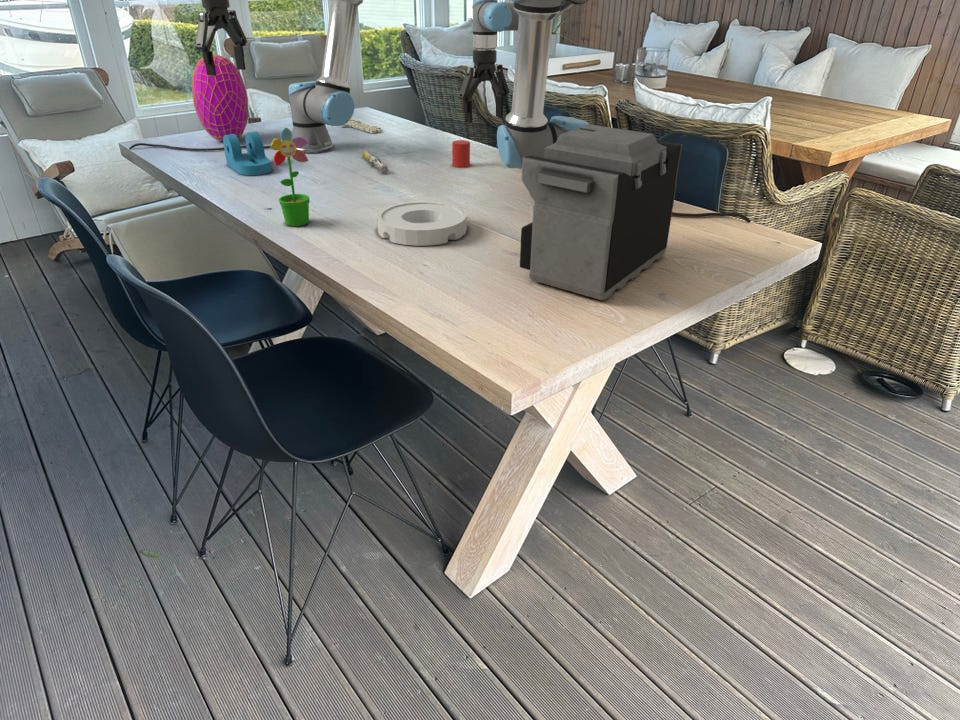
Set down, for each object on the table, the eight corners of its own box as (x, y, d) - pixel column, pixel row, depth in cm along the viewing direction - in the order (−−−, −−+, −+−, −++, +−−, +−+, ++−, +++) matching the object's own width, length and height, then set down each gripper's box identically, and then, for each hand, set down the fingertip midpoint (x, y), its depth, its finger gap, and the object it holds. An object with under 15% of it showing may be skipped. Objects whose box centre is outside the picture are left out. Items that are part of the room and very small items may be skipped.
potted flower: (284, 229, 179) (270, 130, 166) (277, 220, 185) (263, 124, 172) (319, 224, 183) (308, 127, 170) (311, 215, 188) (300, 121, 176)
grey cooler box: (589, 234, 178) (601, 114, 162) (670, 254, 167) (691, 126, 151) (511, 281, 152) (516, 142, 137) (601, 307, 141) (617, 160, 126)
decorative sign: (331, 121, 290) (351, 118, 296) (331, 123, 291) (352, 120, 296) (366, 132, 273) (387, 128, 279) (366, 134, 274) (387, 131, 280)
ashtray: (385, 214, 190) (384, 200, 188) (468, 216, 189) (468, 202, 187) (371, 244, 170) (369, 229, 168) (464, 246, 170) (464, 231, 167)
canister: (473, 165, 236) (473, 142, 232) (462, 168, 232) (461, 145, 228) (460, 162, 239) (460, 139, 236) (448, 165, 236) (448, 142, 232)
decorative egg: (239, 132, 274) (226, 50, 259) (262, 141, 262) (250, 56, 247) (192, 139, 263) (176, 54, 248) (214, 149, 251) (198, 60, 236)
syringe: (360, 156, 244) (360, 148, 243) (371, 155, 246) (370, 147, 244) (377, 174, 224) (377, 166, 223) (389, 173, 226) (388, 165, 224)
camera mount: (227, 164, 233) (221, 132, 227) (257, 160, 238) (252, 129, 233) (244, 176, 220) (239, 143, 215) (276, 172, 225) (271, 139, 220)
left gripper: (194, -6, 185) (209, 78, 196) (252, -9, 205) (262, 67, 216) (172, -6, 188) (188, 77, 198) (231, -10, 208) (242, 66, 218)
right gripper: (505, 45, 225) (503, 113, 236) (446, 50, 211) (447, 122, 221) (521, 47, 220) (519, 116, 231) (462, 52, 206) (462, 126, 217)
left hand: (226, 72), depth 207 cm, fingers open, 13 cm apart
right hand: (484, 119), depth 226 cm, fingers open, 13 cm apart
